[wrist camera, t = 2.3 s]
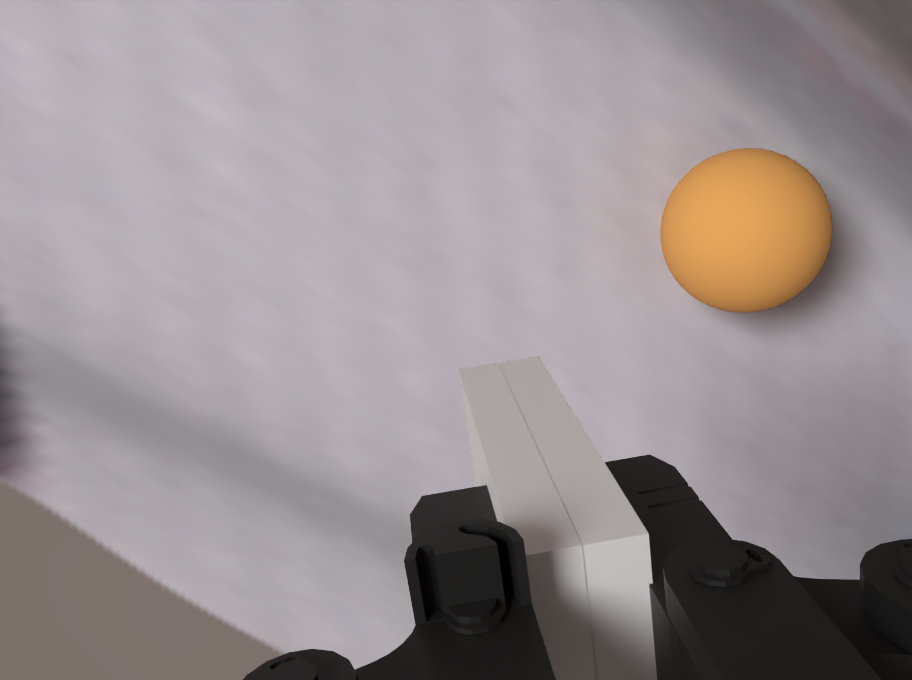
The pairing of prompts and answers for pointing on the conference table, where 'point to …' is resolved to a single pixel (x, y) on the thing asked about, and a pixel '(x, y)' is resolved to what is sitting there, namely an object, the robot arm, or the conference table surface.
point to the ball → (746, 230)
